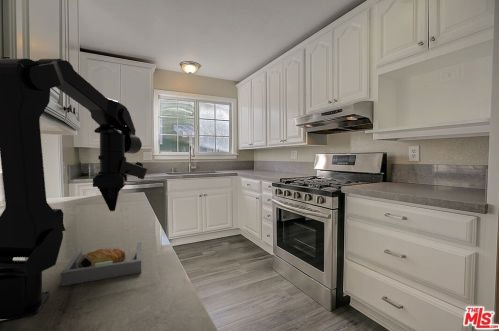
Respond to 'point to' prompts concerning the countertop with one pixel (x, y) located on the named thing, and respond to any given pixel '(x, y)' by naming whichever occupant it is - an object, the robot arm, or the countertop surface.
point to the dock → (98, 269)
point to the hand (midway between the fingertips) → (112, 210)
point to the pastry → (101, 257)
